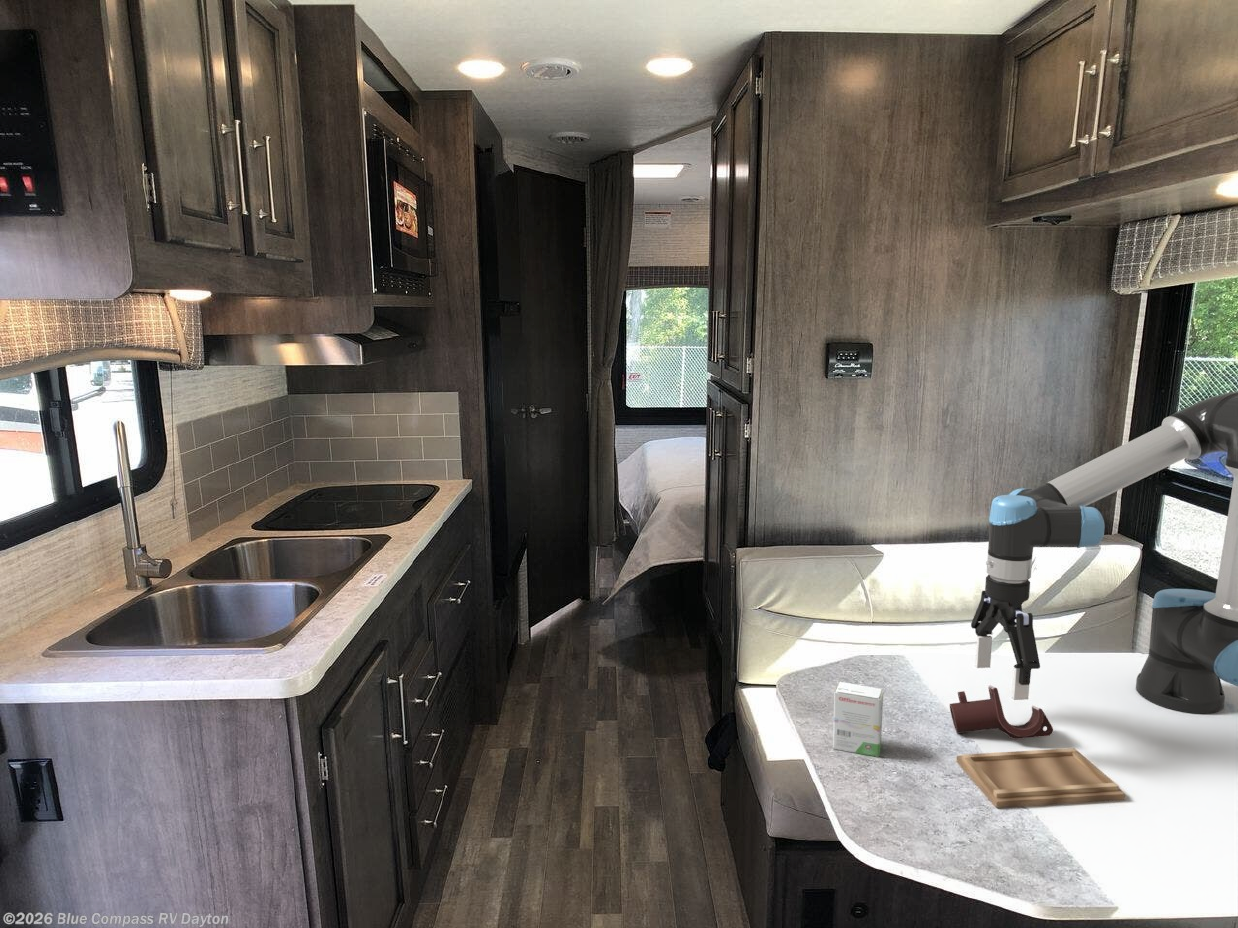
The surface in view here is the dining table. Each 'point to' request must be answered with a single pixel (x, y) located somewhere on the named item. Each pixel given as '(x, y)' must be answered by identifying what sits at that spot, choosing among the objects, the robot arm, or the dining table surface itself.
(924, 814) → the dining table surface
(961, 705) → the bracket
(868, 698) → the ink box
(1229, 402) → the robot arm
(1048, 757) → the side panel
